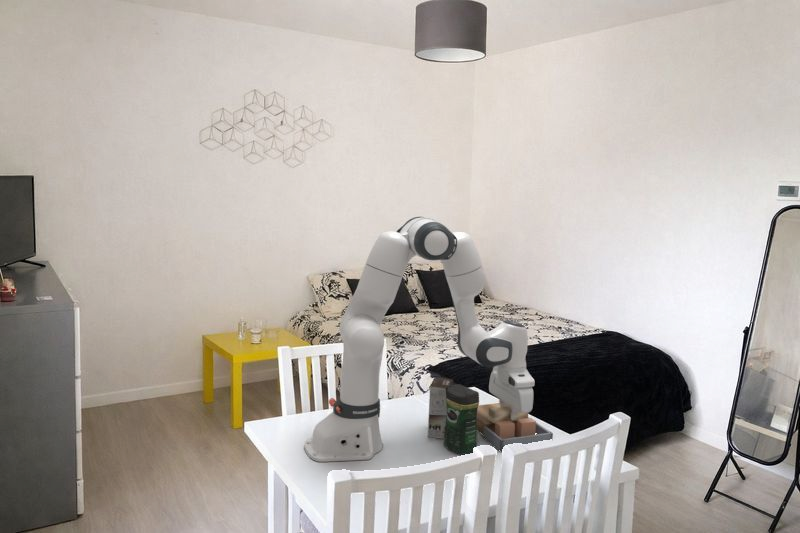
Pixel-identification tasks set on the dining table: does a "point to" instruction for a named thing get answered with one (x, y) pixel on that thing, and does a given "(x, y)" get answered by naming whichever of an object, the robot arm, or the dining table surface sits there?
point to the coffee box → (438, 407)
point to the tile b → (525, 427)
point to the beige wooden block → (503, 414)
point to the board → (483, 417)
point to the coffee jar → (461, 419)
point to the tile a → (505, 429)
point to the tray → (516, 437)
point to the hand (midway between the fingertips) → (508, 416)
